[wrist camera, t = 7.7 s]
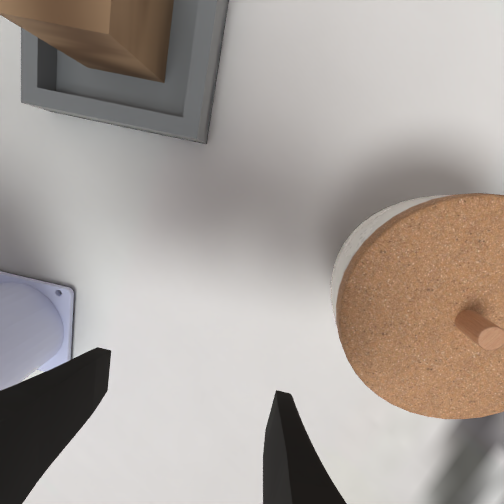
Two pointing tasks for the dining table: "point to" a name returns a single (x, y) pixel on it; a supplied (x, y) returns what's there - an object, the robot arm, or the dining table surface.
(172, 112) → the tray
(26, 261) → the dining table surface
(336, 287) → the lidded jar
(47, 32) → the walnut block
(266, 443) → the robot arm
